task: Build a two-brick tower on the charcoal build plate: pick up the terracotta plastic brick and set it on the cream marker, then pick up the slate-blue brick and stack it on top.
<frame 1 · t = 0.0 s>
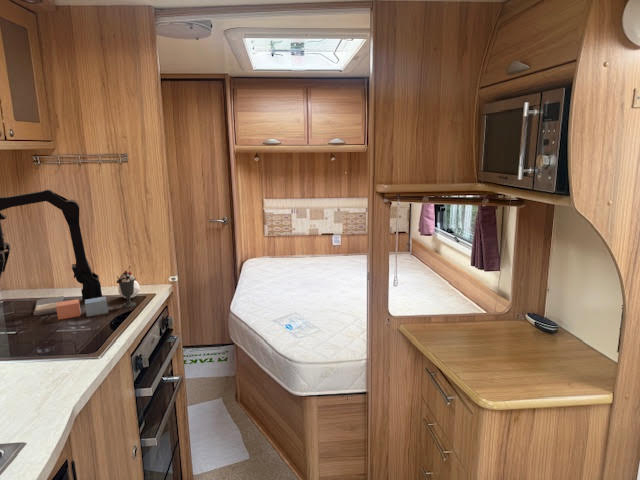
hand: (0, 275, 160), 15 cm above the hob, tool pointing down, fingers open, 9 cm apart
build plate: (49, 309, 166), on the hob
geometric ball: (130, 298, 177), on the hob
sundae: (129, 305, 169), on the hob
terracotta brick: (69, 315, 160), on the hob
slate brick: (97, 312, 162), on the hob
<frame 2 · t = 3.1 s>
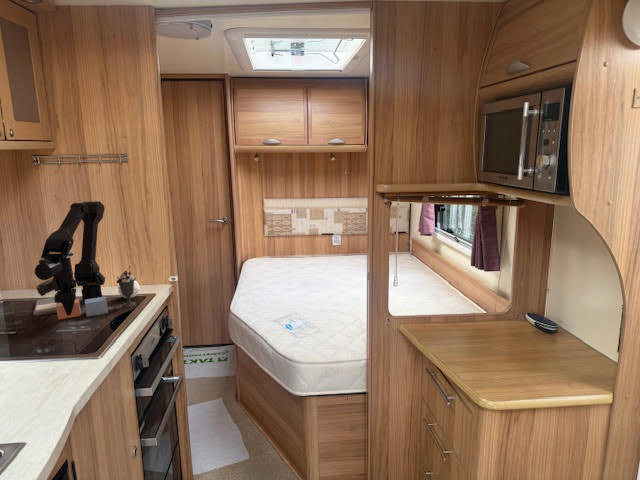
hand: (69, 312, 160), 1 cm above the hob, tool pointing down, fingers closed on terracotta brick, 5 cm apart
terracotta brick: (69, 315, 160), on the hob, touching gripper
everything else where it was.
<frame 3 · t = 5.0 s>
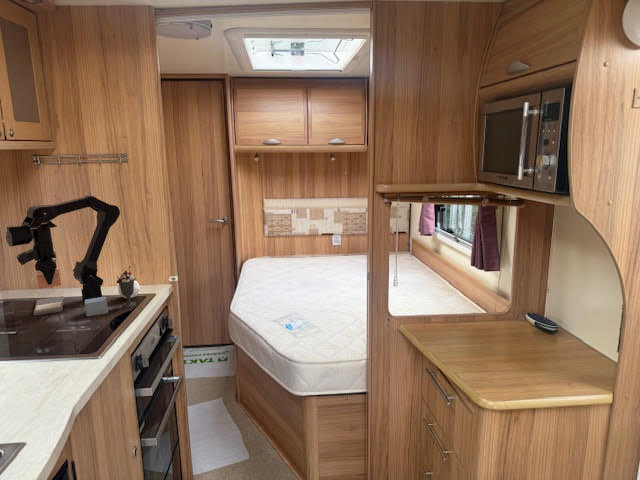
hand: (49, 282, 162), 11 cm above the hob, tool pointing down, fingers closed on terracotta brick, 5 cm apart
terracotta brick: (50, 285, 162), point 10 cm above the hob, touching gripper
everything else where it was.
when the fingers open (4 cm above the hob, at t = 7.0 s): terracotta brick drops 1 cm, resting on build plate.
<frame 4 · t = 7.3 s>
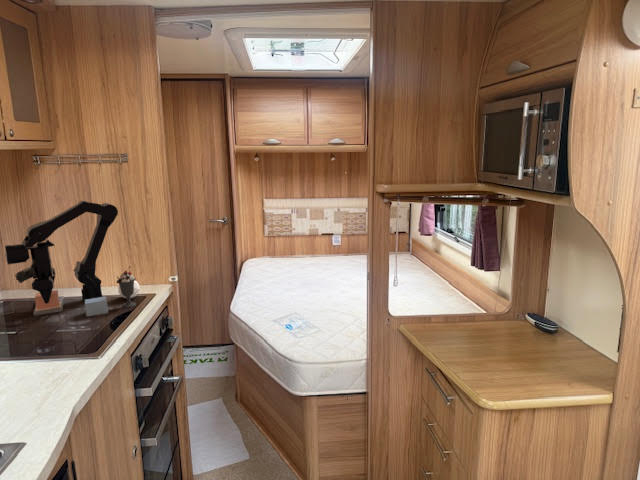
hand: (47, 299, 166), 4 cm above the hob, tool pointing down, fingers open, 8 cm apart
terracotta brick: (48, 306, 166), point 1 cm above the hob, touching build plate
everything else where it was.
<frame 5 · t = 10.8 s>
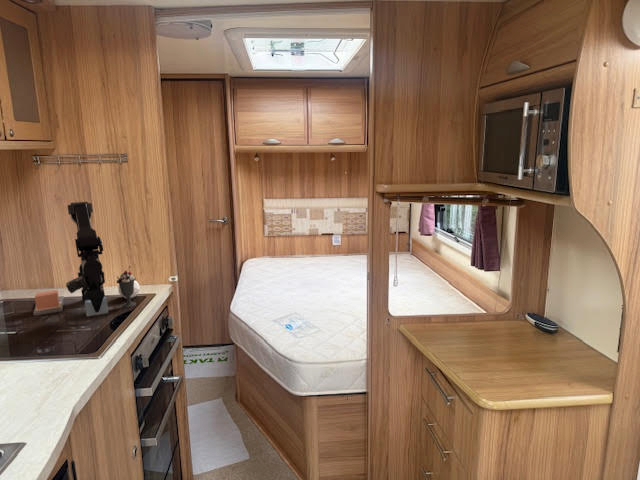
hand: (97, 309, 162), 1 cm above the hob, tool pointing down, fingers closed on slate brick, 5 cm apart
slate brick: (97, 312, 162), on the hob, touching gripper
everything else where it was.
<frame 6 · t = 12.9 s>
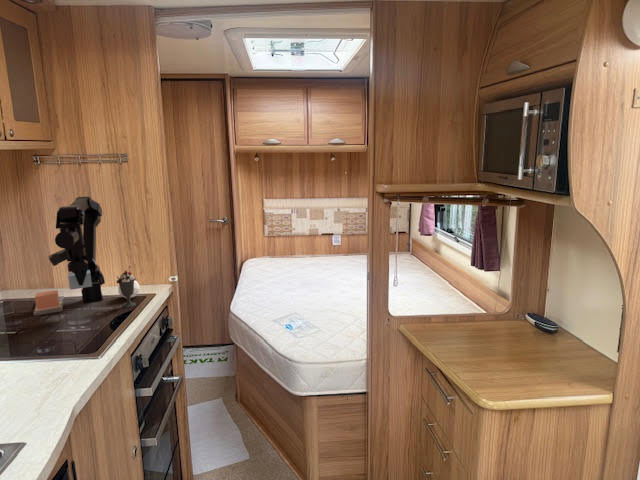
hand: (80, 283, 161), 11 cm above the hob, tool pointing down, fingers closed on slate brick, 5 cm apart
slate brick: (81, 286, 161), point 10 cm above the hob, touching gripper
everything else where it was.
when the fingers open (8 cm above the hob, at t = 14.7 s): slate brick stays where it is, resting on terracotta brick.
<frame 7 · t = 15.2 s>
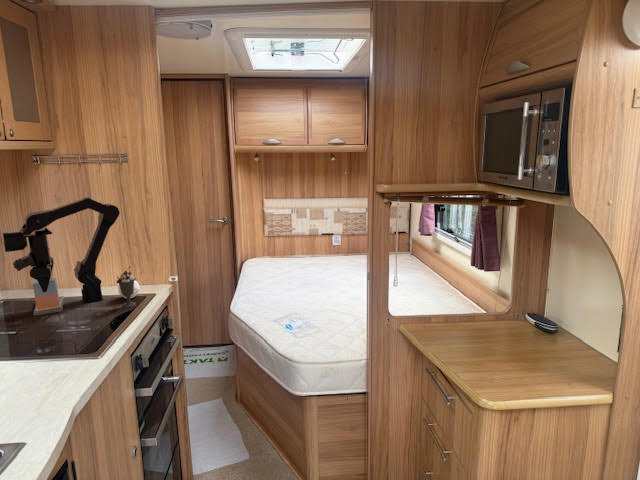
hand: (45, 288, 165), 8 cm above the hob, tool pointing down, fingers open, 9 cm apart
terracotta brick: (48, 306, 166), point 1 cm above the hob, touching build plate, slate brick
slate brick: (46, 293, 165), point 6 cm above the hob, touching terracotta brick
everything else where it was.
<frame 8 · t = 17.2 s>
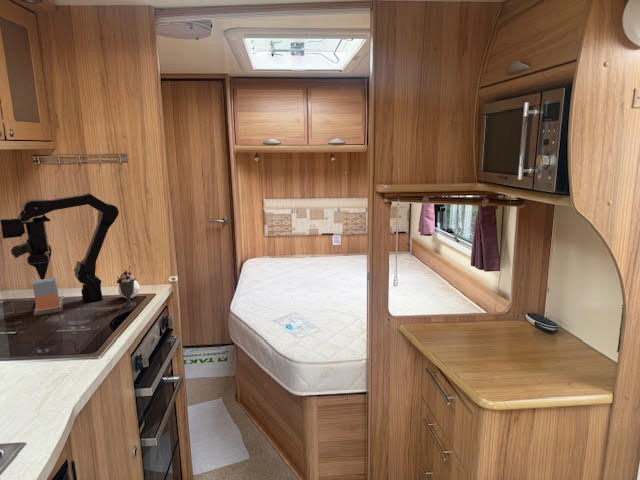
hand: (43, 275, 163), 13 cm above the hob, tool pointing down, fingers open, 9 cm apart
nothing on the hob moved.
at the end: terracotta brick 0.0 cm off-centre on the build plate, point 1.2 cm above the build plate's base; slate brick 0.0 cm off-centre on the build plate, point 6.2 cm above the build plate's base; slate brick tilted 0° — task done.
